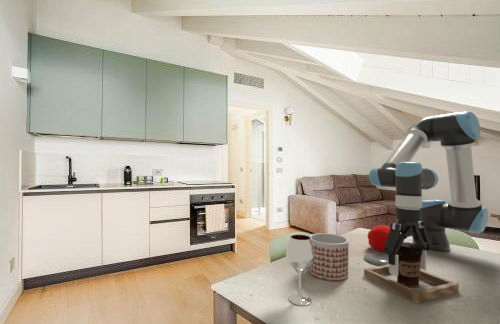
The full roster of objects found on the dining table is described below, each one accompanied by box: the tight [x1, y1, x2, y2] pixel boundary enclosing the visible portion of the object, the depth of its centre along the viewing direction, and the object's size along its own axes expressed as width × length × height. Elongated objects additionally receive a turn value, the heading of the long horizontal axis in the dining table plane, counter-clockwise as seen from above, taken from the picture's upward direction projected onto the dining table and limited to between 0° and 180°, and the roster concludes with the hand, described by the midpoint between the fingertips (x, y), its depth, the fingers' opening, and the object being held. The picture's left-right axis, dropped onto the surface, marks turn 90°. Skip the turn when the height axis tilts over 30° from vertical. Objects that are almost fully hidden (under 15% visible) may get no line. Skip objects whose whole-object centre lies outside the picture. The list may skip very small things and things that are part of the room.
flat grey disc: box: [363, 253, 389, 266], centre depth 102 cm, size 13×13×1 cm
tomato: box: [367, 224, 394, 253], centre depth 116 cm, size 13×13×13 cm
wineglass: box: [285, 234, 315, 307], centre depth 71 cm, size 8×8×18 cm
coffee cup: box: [396, 241, 423, 288], centre depth 82 cm, size 9×8×13 cm
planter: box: [308, 232, 349, 282], centre depth 90 cm, size 14×14×13 cm
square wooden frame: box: [363, 264, 460, 304], centre depth 82 cm, size 19×19×2 cm
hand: (408, 271), depth 82 cm, fingers open, 13 cm apart
